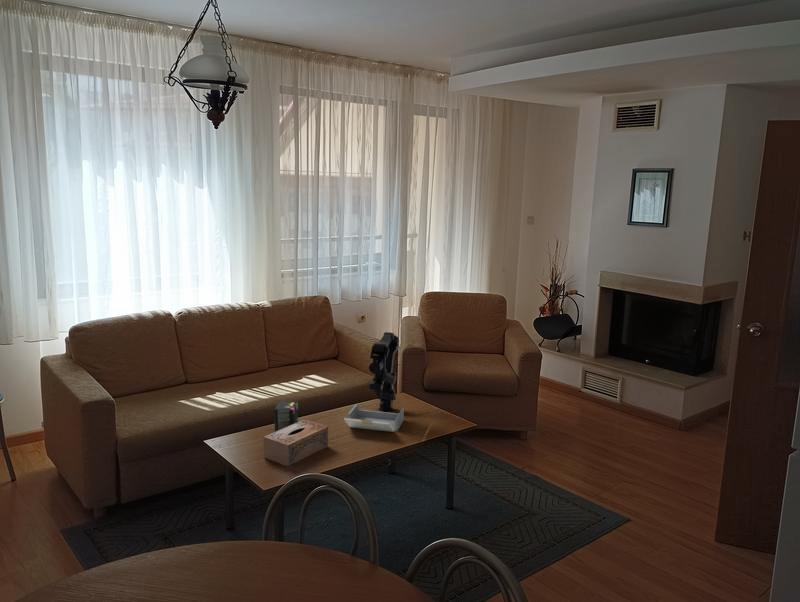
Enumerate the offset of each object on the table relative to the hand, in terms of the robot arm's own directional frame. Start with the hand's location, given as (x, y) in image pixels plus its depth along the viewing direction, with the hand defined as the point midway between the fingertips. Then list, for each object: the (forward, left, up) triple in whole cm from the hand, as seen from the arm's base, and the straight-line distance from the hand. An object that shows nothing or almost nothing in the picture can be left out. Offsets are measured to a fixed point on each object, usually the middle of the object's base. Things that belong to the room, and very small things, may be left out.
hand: (379, 397), depth 317 cm
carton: (+5, +3, -12) cm, 13 cm away
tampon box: (+44, -18, -12) cm, 49 cm away
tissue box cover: (+53, +1, -12) cm, 55 cm away
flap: (+11, +6, -11) cm, 17 cm away
